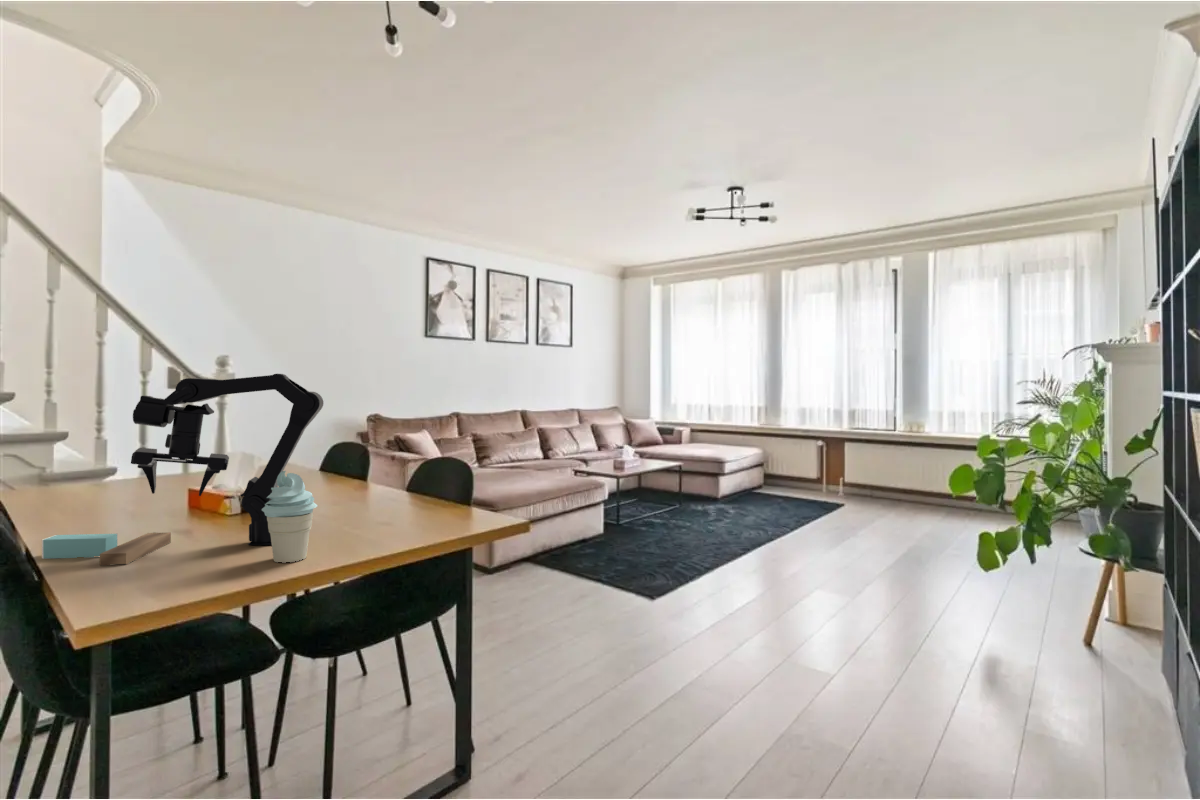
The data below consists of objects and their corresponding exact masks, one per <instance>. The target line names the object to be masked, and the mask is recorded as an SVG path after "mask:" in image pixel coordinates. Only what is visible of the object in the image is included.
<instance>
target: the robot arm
mask: <svg viewBox="0 0 1200 800" xmlns="http://www.w3.org/2000/svg"><path fill="white" fill-rule="evenodd" d="M273 390H274V391H277V392H278V393H279V394H280V395H282V397H283V398H285V399H286V400H287V401H289V402H290V403H291V404H292V407H291V411H290V416H289V420H288V424H287V426H286V428H285V430H284V431H283V433H282V435H281V436H280V439H279V441H278V443H277V445H276V447H275V449H274V451H273V452H272V454H271V456H270V458H269V460H268V462H267V464H266V466H265V467H264V469H263V471H262V473H261V474H260V476H259V477H257V476H254V477H253V478H250V479H249V480H248V482H247V484H246V488H245V490H244V491H243V492H242V493H241V494H240V497H242V498H241V506H242V508H243V510H245V512H246V513H248V515H249V516H250V519H251V520H250V524H249V525H248V541H249V542H248V543H247V545H248V546H272V543H271V536H270V533H269V529H268V521H267V516H265V513H264V512H263V511H262V508H264V507H265V504H266V503H267V502H269V501H270V500H272V499H271V498H267V497H268V496H269V495H270V494H271V493H272V489H271V488H275V487H278V484H277V477H278V475H279V474H280V473H281V472H283V471H285V469H286V466H287V464H288V463H289V460H290V458H291V457H292V455H293V453H294V451H295V449H296V447H297V446H298V443H299V441H300V439H301V437H302V435H303V434H304V432H305V430H306V429H307V428H308V426H309V425H310V424H311V422H313V420H314V419H315V418H316V416H317V415H318V414H319V412H321V410H322V409H323V406H324V400H323V397H322V396H321V394H319V392H316V391H309V390H307V389H306V388H304V387H303V386H301V385H300V384H298V383H297V382H295V381H293V380H292V379H290V378H289V376H287V375H286V374H284V373H274V374H269V375H261V376H260V375H257V376H249V377H248V376H247V377H240V378H239V377H238V378H230V379H229V378H228V379H226V378H225V379H215V378H201V377H200V378H197V377H195V378H192V377H189V378H187V377H186V378H183V379H181V380H180V381H179V382H178V383H177V384H176V386H175V390H174V391H173V392H171V393H170V394H169V395H168V396H166V397H165V398H161V397H160V398H158V397H154V396H151V395H141V396H140V397H139V398H140V399H139V401H138V402H137V404H136V406H135V408H134V409H133V410H132V421H133V424H135V425H141V426H150V427H156V428H157V427H158V428H166V427H167V425H170V424H172V428H171V434H170V433H168V434H167V435H166V440H165V444H164V447H165V448H167V449H168V453H161V452H158V448H148V447H138V448H137V449H135V450H134V452H132V454H131V459H130V464H131V465H137V468H138V469H142V471H143V474H144V475H145V477H146V479H147V482H148V485H149V487H150V490H151V491H150V492H151V494H154V495H155V494H156V489H157V465H158V462H161V463H163V462H166V463H178V464H179V463H180V464H191V465H206V466H207V467H206V469H205V470H204V475H203V478H202V481H201V483H200V488H199V491H198V496H199V497H201V496H202V494H203V492H204V490H205V489H206V487H207V485H208V483H209V482H210V480H211V479H212V477H213V476H214V475H216V474H220V473H221V471H227V469H228V465H229V460H230V456H229V455H228V454H224V453H223V454H222V453H210V454H209V456H200V455H199V454H200V449H201V434H202V426H203V421H204V415H205V416H210V415H211V414H212V415H213V414H214V413H215V410H214V409H213V408H212V407H210V406H209V403H203V404H202V405H196V404H195V405H194V404H188V403H199V402H204V401H208V400H212V399H216V398H219V397H222V396H226V395H234V394H243V393H244V394H245V393H253V392H262V391H273ZM183 404H186V405H185V406H184V407H183V406H178V405H183ZM175 405H176V406H175Z"/></svg>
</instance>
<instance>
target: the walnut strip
mask: <svg viewBox="0 0 1200 800" xmlns="http://www.w3.org/2000/svg"><path fill="white" fill-rule="evenodd" d="M171 542H172V533H171V532H147V533H144V534H142V535H140V536H138V537H136V538H133V539H131V540H128V541H126V542H124V543H122V544H119V545H117V547H115V548H112V549H110V550H108V551H105V552H103V553H101V554H100V557H99V566H100V565H102V566H111V565H110V564H127V565H128V563H129V562H131V563H132V561H133V562H134V560H135V561H137V560H139V559H141V558H142V556H143V557H145V556H147V555H149V554H151V553H153V552H154V550H155V551H156V549H157V550H159V549H160V547H161V548H163V547H165V546H167V545H169V544H171ZM168 543H169V544H168ZM166 544H167V545H166ZM164 545H165V546H164ZM162 546H163V547H162ZM158 548H159V549H158ZM152 551H153V552H152ZM150 552H151V553H150ZM148 553H149V554H148ZM146 554H147V555H146ZM144 555H145V556H144ZM140 557H141V558H140ZM138 558H139V559H138ZM136 559H137V560H136ZM129 564H130V563H129Z"/></svg>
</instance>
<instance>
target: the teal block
mask: <svg viewBox="0 0 1200 800" xmlns="http://www.w3.org/2000/svg"><path fill="white" fill-rule="evenodd" d="M117 546H118V533H89V534H87V533H84V534H83V533H82V534H81V533H80V534H55V535H52V536H49V537H48V536H47V537H46V538H43V539H41V559H75V558H77V557H84V558H95V557H94V556H100V554H101V553H103V552H105V551H108V550H110V549H112V548H115V547H117ZM77 559H78V558H77Z"/></svg>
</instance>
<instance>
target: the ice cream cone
mask: <svg viewBox="0 0 1200 800" xmlns="http://www.w3.org/2000/svg"><path fill="white" fill-rule="evenodd" d="M286 472H287V470H283V472H281V473H280V474H279V475H278V477H277V484H278V487H275V488H271V489H272V493H271V494H270V495H269V496H268V497H267V498H271V499H272V500H270V501H269V502H267V503H266V504H265V507H264V508H262V511H263V512H264V513H265V516H267V521H268V529H269V533H270V536H271V543H272V545H271V550H272V557H273V561H274V562H275V563H278V562H282V563H281V564H283V563H284V564H287V563H286V562H290V563H296V562H300V561H303V560H304V559H306V558H307V554H308V548H309V546H308V545H309V541H310V540H309V539H310V531H311V529H312V525H313V517H314V516H313V515H314V513H313V512H314V509H315V508H317V507H318V504H317V503H315V502H314V501H315V497H314V496H313V493H312V492H311V491H309V490H306V485H305V483H304V481H303V478H302V477H301V476H300V475H299V474H297V473H294V472H288V473H287V474H286ZM302 559H303V560H302ZM299 560H300V561H299ZM295 561H296V562H295Z"/></svg>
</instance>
